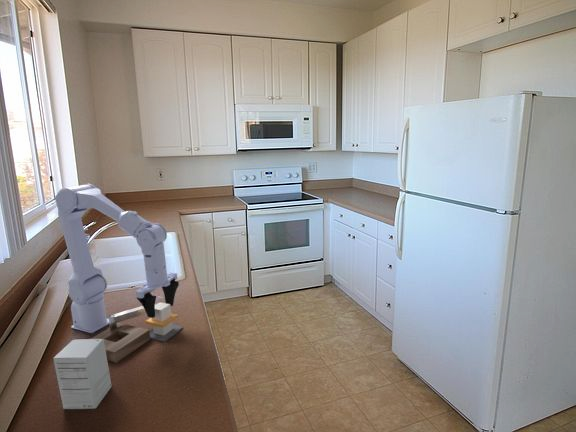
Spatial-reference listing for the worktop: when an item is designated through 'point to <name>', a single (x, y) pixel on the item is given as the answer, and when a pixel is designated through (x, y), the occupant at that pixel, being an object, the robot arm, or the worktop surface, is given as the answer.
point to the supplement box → (82, 373)
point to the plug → (162, 319)
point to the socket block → (122, 340)
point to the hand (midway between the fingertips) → (160, 310)
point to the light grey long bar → (125, 315)
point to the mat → (166, 336)
